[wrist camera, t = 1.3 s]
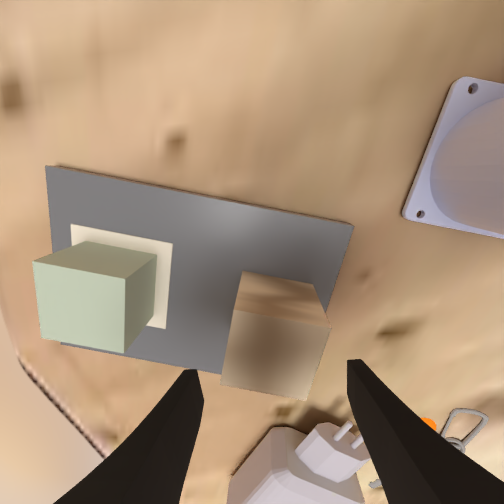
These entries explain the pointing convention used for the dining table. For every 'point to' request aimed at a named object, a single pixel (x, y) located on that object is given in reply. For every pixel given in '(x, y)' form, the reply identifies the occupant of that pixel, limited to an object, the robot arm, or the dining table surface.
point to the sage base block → (95, 295)
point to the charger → (302, 468)
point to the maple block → (275, 337)
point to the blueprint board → (192, 255)
